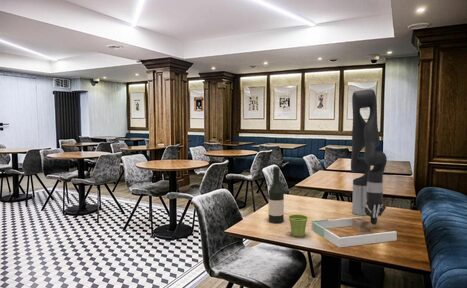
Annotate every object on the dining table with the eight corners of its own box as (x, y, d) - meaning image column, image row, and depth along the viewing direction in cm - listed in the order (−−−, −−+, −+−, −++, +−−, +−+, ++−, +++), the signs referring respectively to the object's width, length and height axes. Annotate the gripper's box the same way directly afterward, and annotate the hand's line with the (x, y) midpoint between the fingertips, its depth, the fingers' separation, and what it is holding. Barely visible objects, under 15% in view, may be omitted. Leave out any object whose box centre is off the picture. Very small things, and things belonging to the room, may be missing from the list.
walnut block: (362, 227, 163) (362, 217, 163) (370, 231, 158) (370, 221, 157) (352, 228, 162) (352, 218, 161) (359, 232, 156) (359, 222, 156)
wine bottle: (284, 219, 176) (285, 166, 174) (282, 224, 168) (282, 168, 166) (270, 218, 178) (270, 165, 176) (266, 222, 171) (266, 167, 168)
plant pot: (296, 239, 146) (296, 221, 146) (284, 233, 155) (284, 216, 154) (312, 236, 151) (312, 218, 150) (299, 230, 159) (299, 213, 158)
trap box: (361, 224, 168) (362, 215, 168) (396, 240, 145) (396, 230, 145) (311, 229, 160) (311, 220, 160) (339, 247, 137) (339, 237, 137)
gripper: (380, 188, 166) (379, 221, 167) (358, 189, 162) (357, 223, 163) (391, 191, 158) (389, 225, 160) (368, 193, 155) (367, 227, 156)
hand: (373, 224), depth 162 cm, fingers closed
